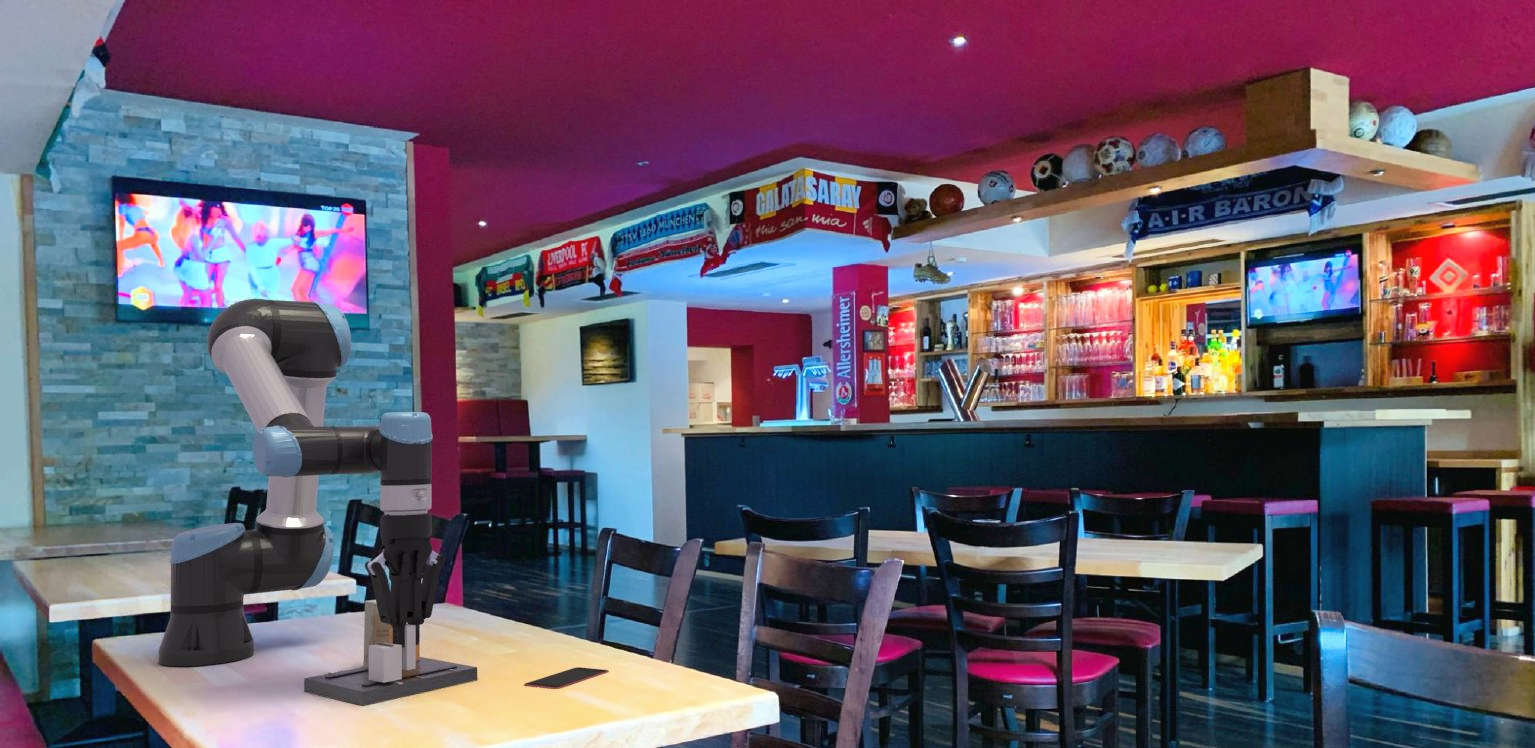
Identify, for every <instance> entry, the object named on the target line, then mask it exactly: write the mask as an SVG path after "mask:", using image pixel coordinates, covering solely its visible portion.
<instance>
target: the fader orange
mask: <svg viewBox="0 0 1535 748" xmlns="http://www.w3.org/2000/svg"><path fill="white" fill-rule="evenodd" d="M419 635H420V636H421V634H419ZM419 638H420V637H419ZM420 639H421V638H420ZM420 641H421V640H420ZM420 641H419V645H416V661H419V660H420V657H421V656H420V648H421V647H420ZM389 643H392V644H393V629H390V630H389Z"/></svg>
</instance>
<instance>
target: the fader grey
mask: <svg viewBox="0 0 1535 748" xmlns="http://www.w3.org/2000/svg"><path fill="white" fill-rule="evenodd" d="M400 679H402V645H398V644H392V643H377V644H375V645H370V646H369V680H373V681H378V682H383V683H385V682H390V681H395V680H400Z"/></svg>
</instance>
